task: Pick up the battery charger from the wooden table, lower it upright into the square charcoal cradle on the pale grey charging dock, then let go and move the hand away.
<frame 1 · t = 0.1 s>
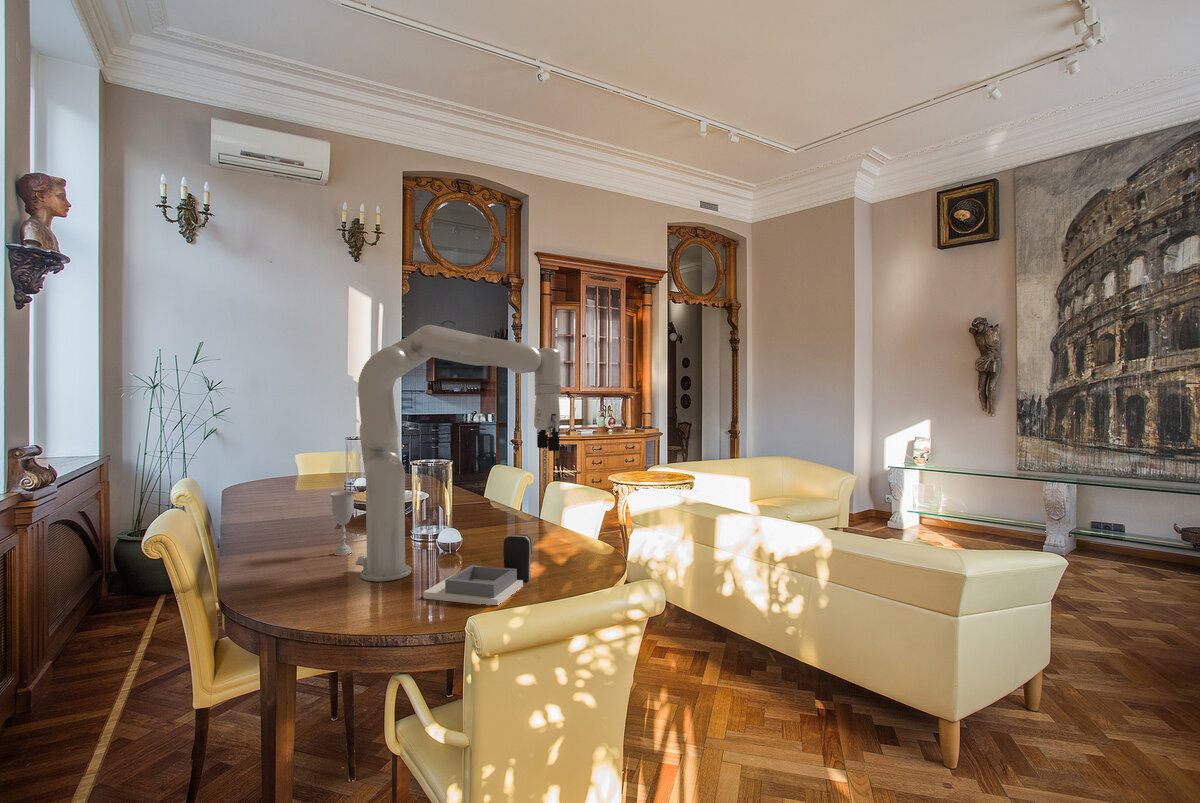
hand: (548, 449, 174), 31 cm above the table, tool pointing down, fingers open, 9 cm apart
chalice: (343, 554, 177), on the table
dock: (474, 592, 143), on the table
battery charger: (518, 580, 153), on the table
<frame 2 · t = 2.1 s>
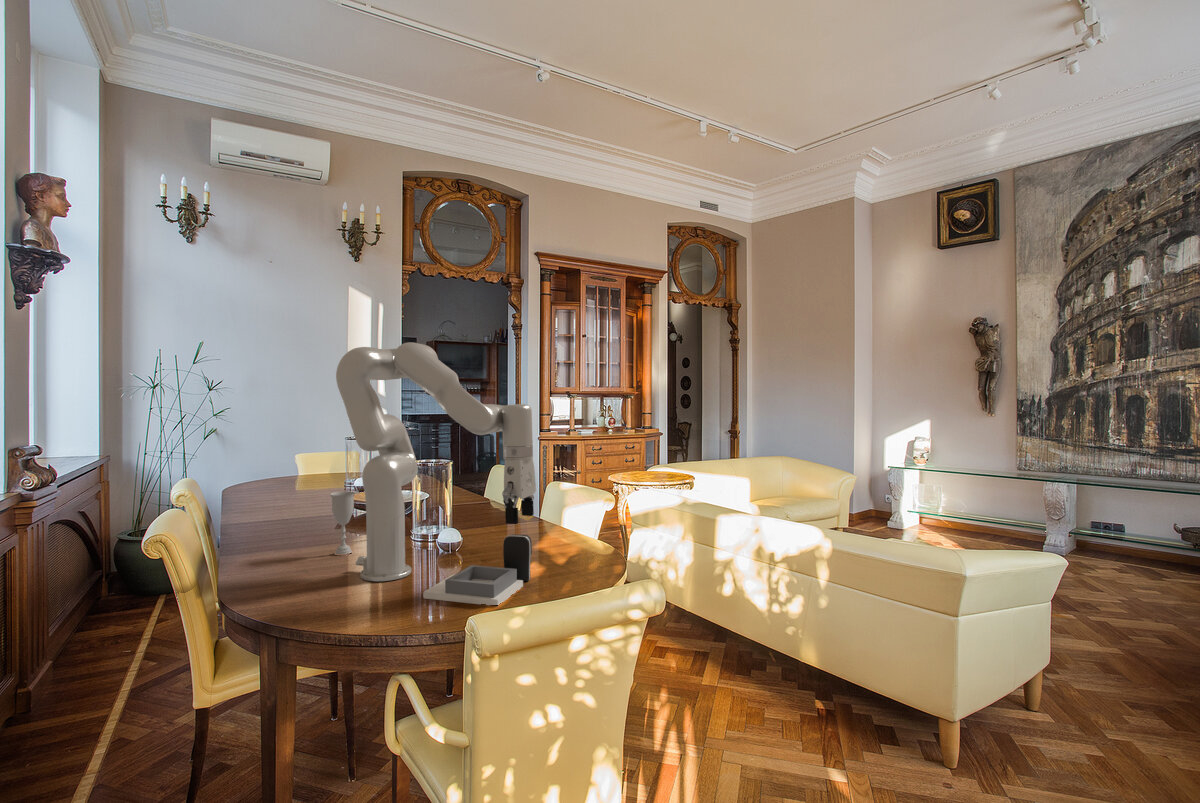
hand: (520, 519, 153), 15 cm above the table, tool pointing down, fingers open, 9 cm apart
nothing on the table moved.
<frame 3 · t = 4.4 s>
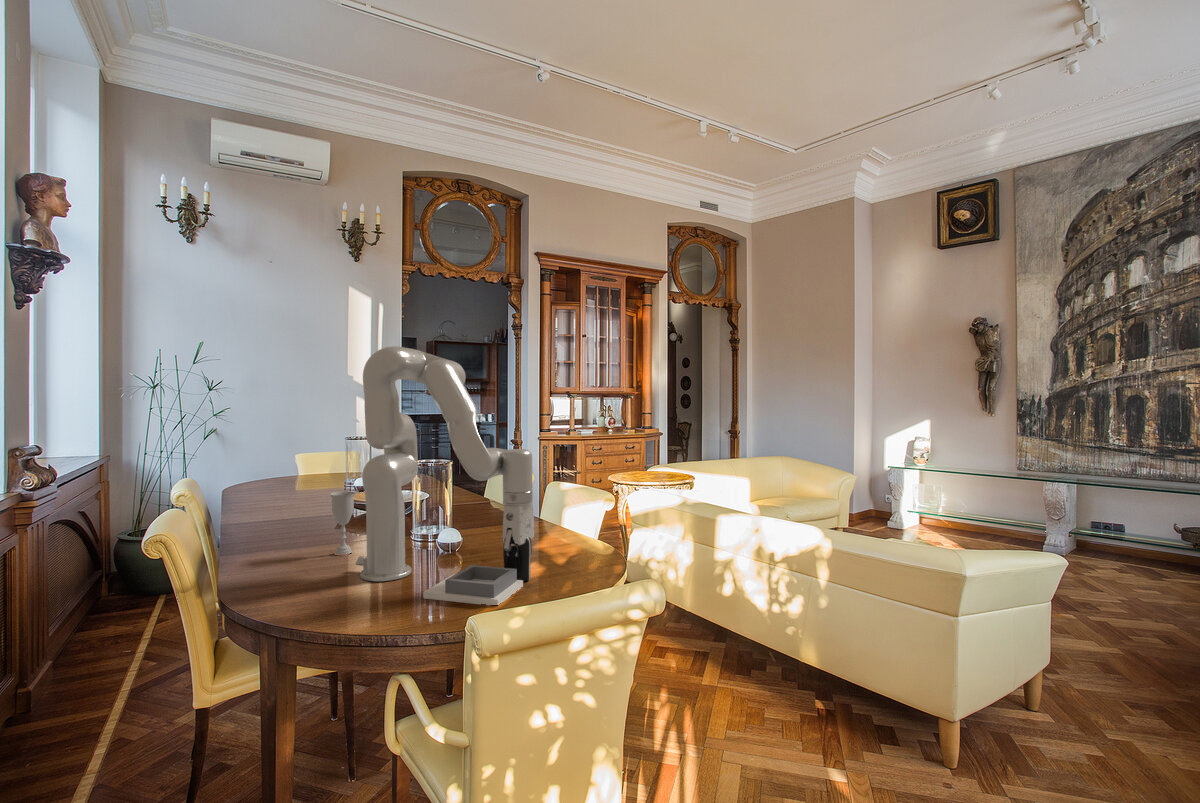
hand: (518, 568, 153), 3 cm above the table, tool pointing down, fingers closed on battery charger, 4 cm apart
battery charger: (518, 579, 153), on the table, touching gripper
everything else where it was.
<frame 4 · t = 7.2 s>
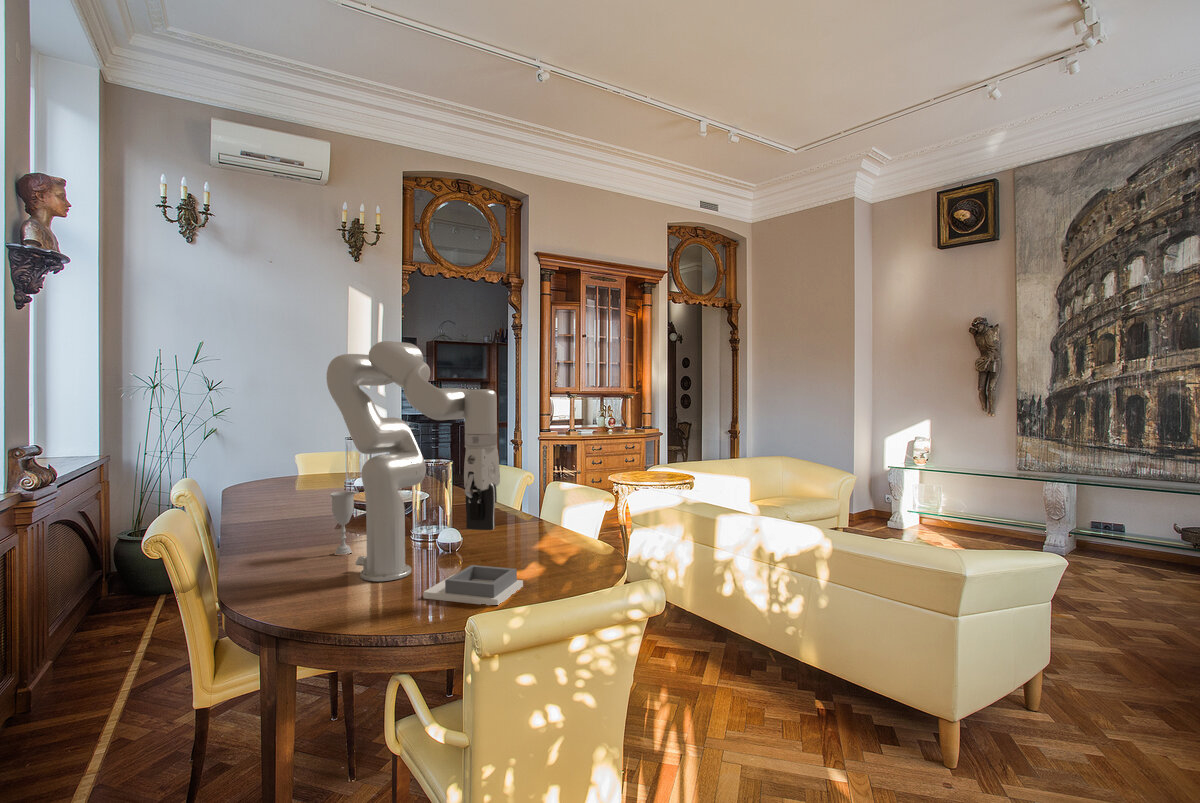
hand: (481, 516, 142), 18 cm above the table, tool pointing down, fingers closed on battery charger, 4 cm apart
battery charger: (481, 529, 142), point 15 cm above the table, touching gripper
everything else where it was.
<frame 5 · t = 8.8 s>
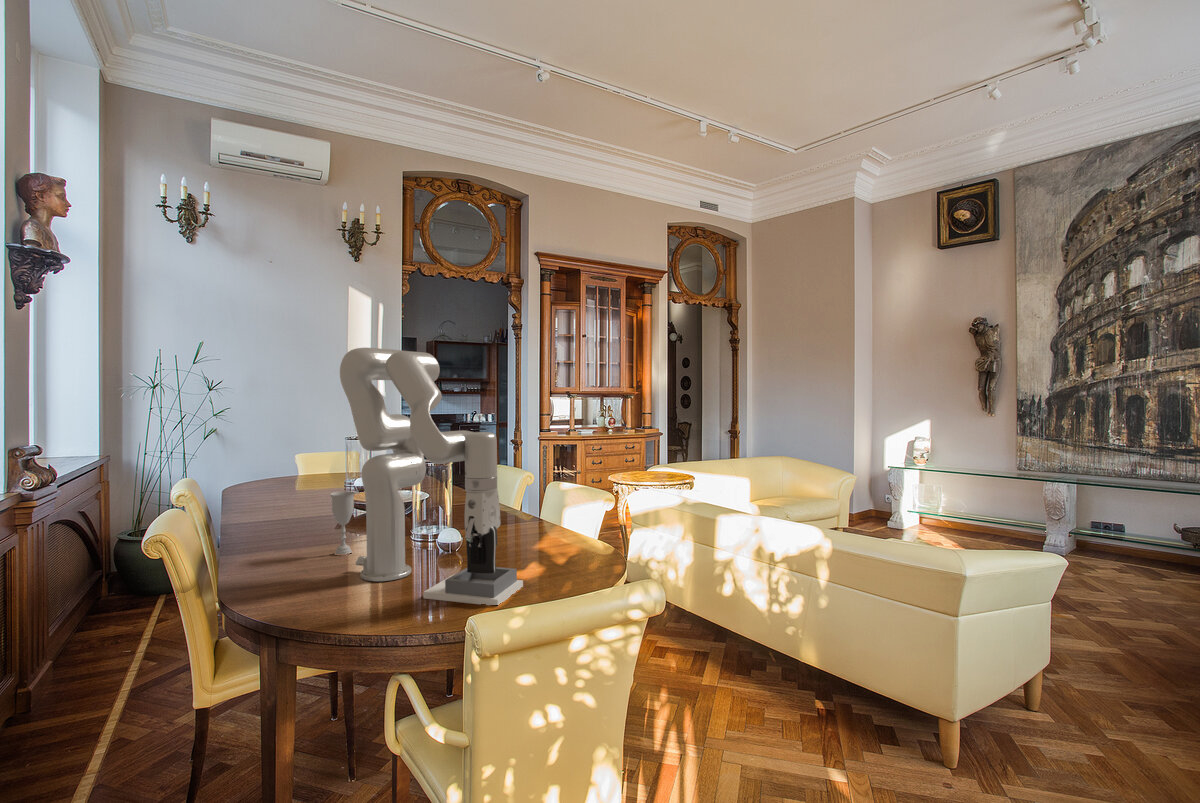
hand: (482, 559, 142), 8 cm above the table, tool pointing down, fingers closed on battery charger, 4 cm apart
battery charger: (482, 572, 142), point 5 cm above the table, touching gripper
everything else where it was.
when the fingers open (6 cm above the table, at t = 10.0 s): battery charger drops 1 cm, resting on dock.
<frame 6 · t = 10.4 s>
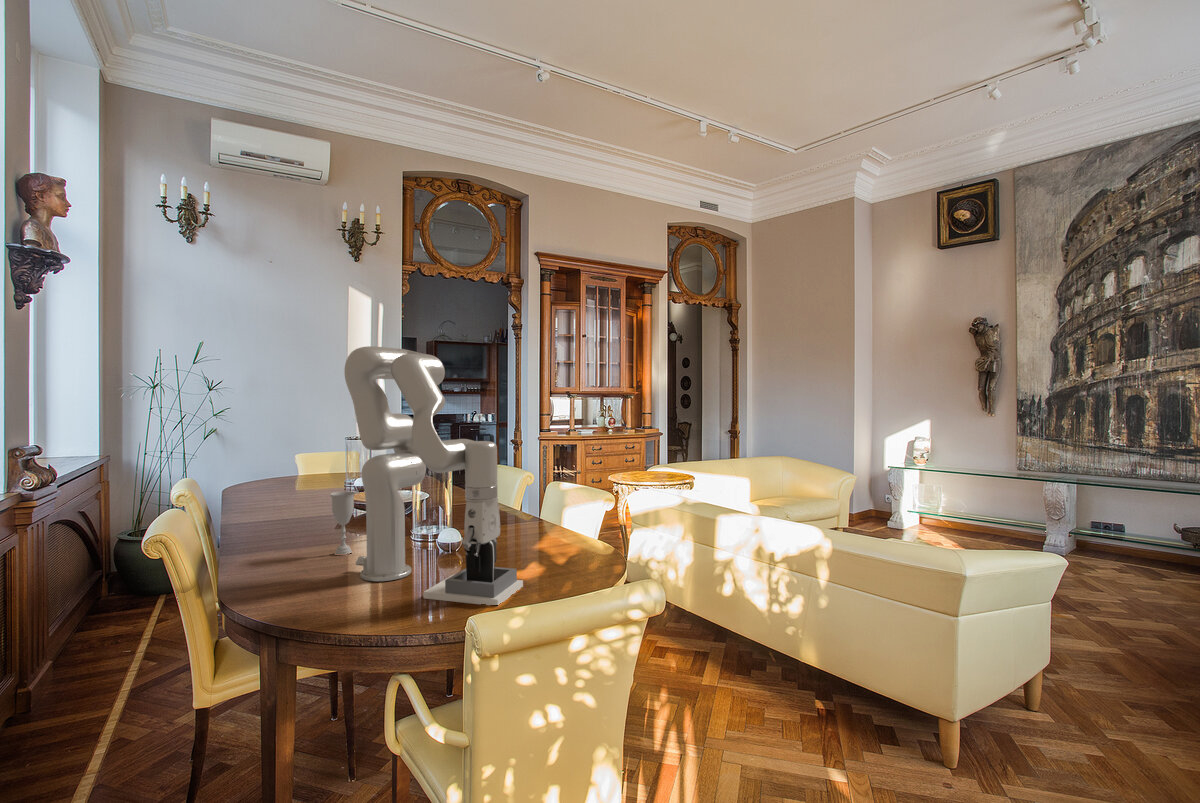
hand: (481, 566, 142), 6 cm above the table, tool pointing down, fingers open, 7 cm apart
battery charger: (482, 587, 143), point 1 cm above the table, touching dock
everything else where it was.
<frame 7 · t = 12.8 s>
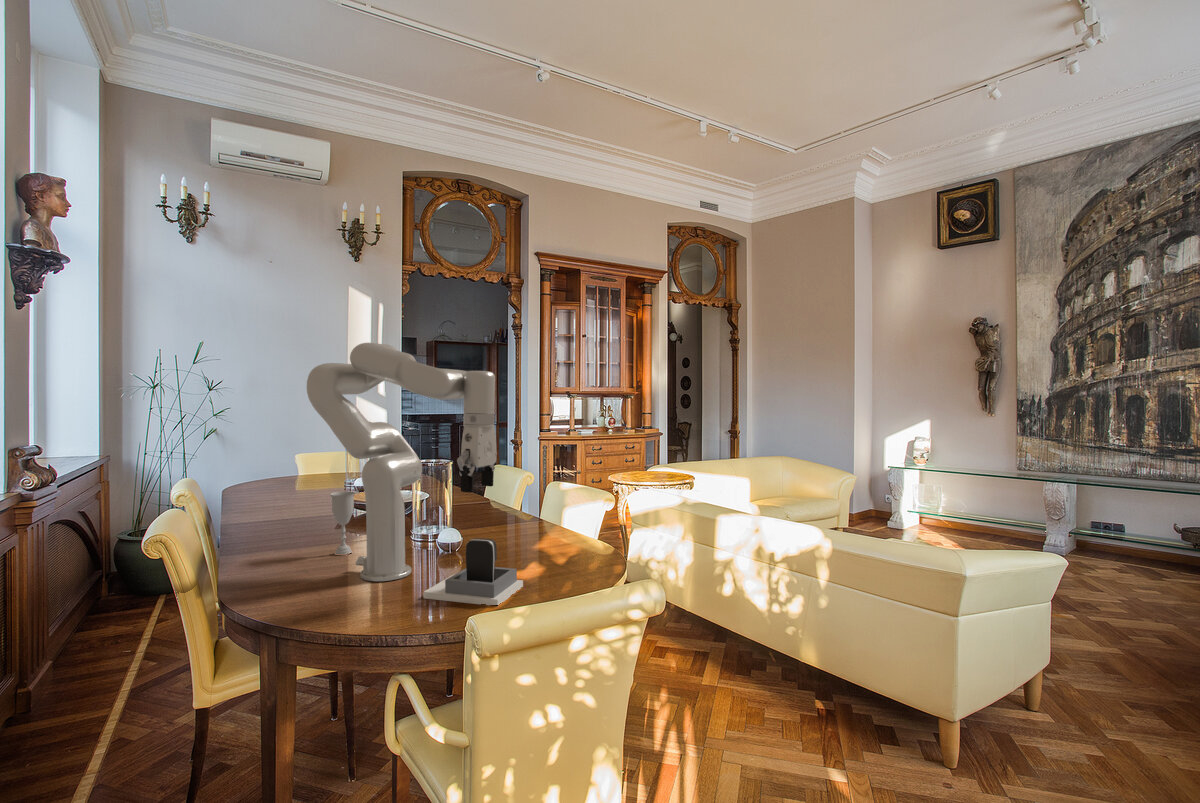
hand: (477, 488, 149), 24 cm above the table, tool pointing down, fingers open, 9 cm apart
nothing on the table moved.
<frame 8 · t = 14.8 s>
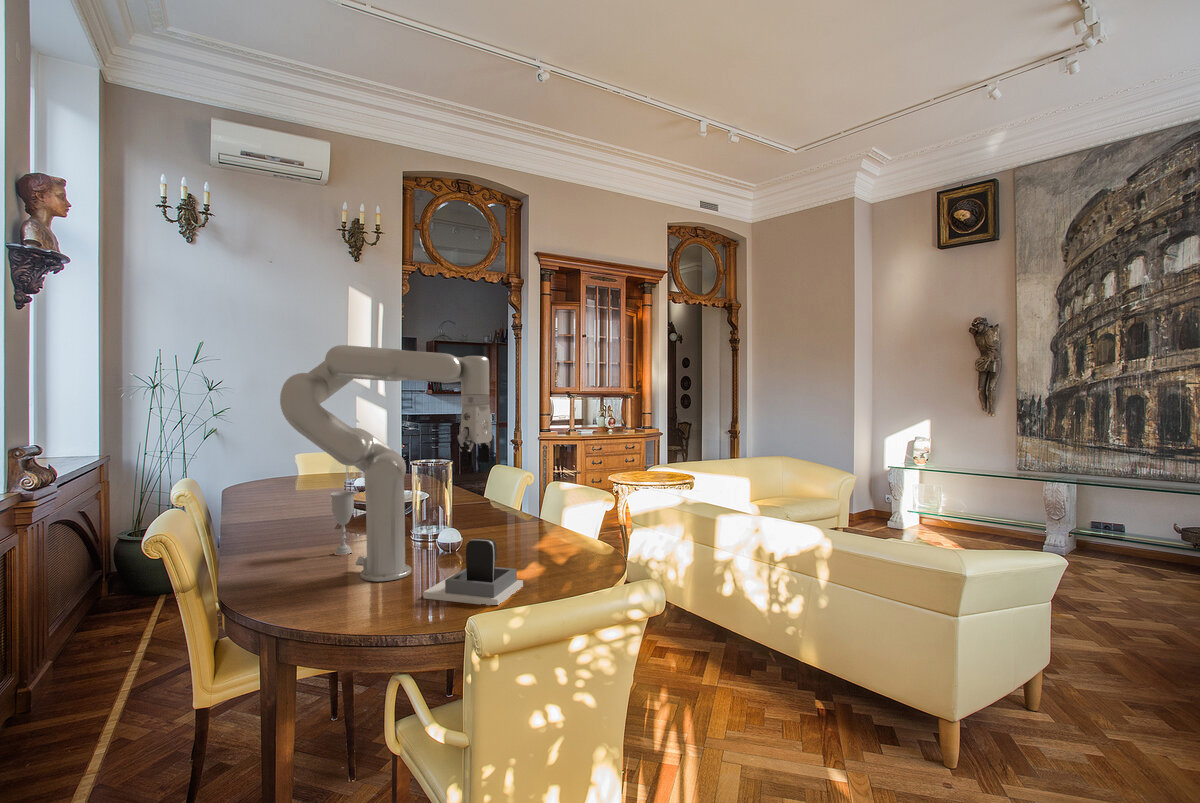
hand: (475, 464, 162), 28 cm above the table, tool pointing down, fingers open, 9 cm apart
nothing on the table moved.
at the end: battery charger 0.3 cm from the target spot on the dock, point 1.3 cm above the dock's base; battery charger tilted 0°; the gripper is holding nothing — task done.
